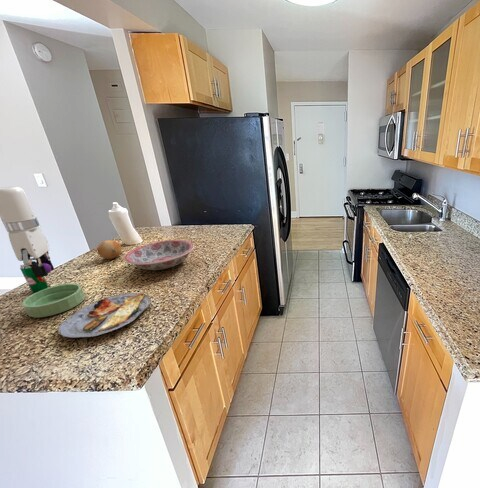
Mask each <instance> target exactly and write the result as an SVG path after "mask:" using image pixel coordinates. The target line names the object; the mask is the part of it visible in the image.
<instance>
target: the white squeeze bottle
mask: <svg viewBox="0 0 480 488" xmlns="http://www.w3.org/2000/svg"><path fill="white" fill-rule="evenodd" d="M107 212H108V213H107V214H108V218H109V220H110V222H111V224H112V226H113V228H114V230H115V231H116V233H117V234H118V236H119V238H120V241H122V243H124V245H126V246H132V245H138V244H140V243H142V242H143V241H144V240H143V238H142V237H141V235H140V234H139V233H138V231H137V230H136V229H135V228H134V226H133V224H132V220H131V219H130V215H129V210H128V209H127V208H126V207H122V206H121V205H120V204H119V203H118V202H112V206H111V209H110V210H108V211H107Z"/></svg>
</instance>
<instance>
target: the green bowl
mask: <svg viewBox="0 0 480 488" xmlns="http://www.w3.org/2000/svg"><path fill="white" fill-rule="evenodd" d="M85 299H86V294H85V292H84V289H83V287H82V285H81V284H79V283H74V282H73V283H64V284H63V283H62V284H57V285H53V286H50V287H48V288H47V289H44V290H41V291H39V292H33V293H32V294H30V295H28V296H27V297H25V298H24V299H23V300H22V303H21V305H22V307H23V310H24V311H25V313H26V315H27V316H28V317H29V318H46V317H51V316H54V315H57V314H61V313H64V312H66V311H68V310H71V309H73V308H75V307H76V306H78V305H80V304H81V303H82V302H84V300H85Z"/></svg>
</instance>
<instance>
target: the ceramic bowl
mask: <svg viewBox="0 0 480 488" xmlns="http://www.w3.org/2000/svg"><path fill="white" fill-rule="evenodd" d="M194 249H195V244H194V243H193V242H192V241H191V240H186V239H167V240H160V241H155V242H151V243H147V244H143V245H140V246H138V247H136V248H134V249H132V250H130V251H128V252H127V253H126V254H125V255H124V261H125V262H126V263H127V264H129V265H130V264H131V265H133V266H135V267H137V268H139V269H142V270H146V271H160V270H166V269H170V268H174V267H176V266H177V265H180V264H181V263H183V262H184V261H185V260H186V259H187V258H188V256H189V255H190V253H191V252H192V251H193V250H194Z"/></svg>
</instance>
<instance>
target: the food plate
mask: <svg viewBox="0 0 480 488" xmlns="http://www.w3.org/2000/svg"><path fill="white" fill-rule="evenodd" d="M151 303H152V300H151V299H150V298H149V297H148V295H146V294H145V293H144V292H142V293H130V292H129V293H121V294H116V295H113V296H108V297H103V298H101V299H99V300H98V301H95V302H92V303H90V304H87V305H86V306H83V307H81V308H80V309H79V310H77V311H76V312H74V313H73V314H72V315H70V316H69V317H68V318H67V319H65V320H64V321H63V322H61V323H60V325H59V326H58V328H57V332H58V334H59V335H61V336H62V337H66V338H75V339H76V338H82V339H83V338H91V337H97V336H100V335H104V334H107V333H110V332H113V331H115V330H118V329H120V328H123V327H125V326H126V325H128V324H130V323H131V322H133V321H135V320H136V319H137V318H138V317H139V316H140V315H141V314H142V313H143V312H144V311H145V310H146V309H147V308H148V307H149V306H150V305H151Z"/></svg>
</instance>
